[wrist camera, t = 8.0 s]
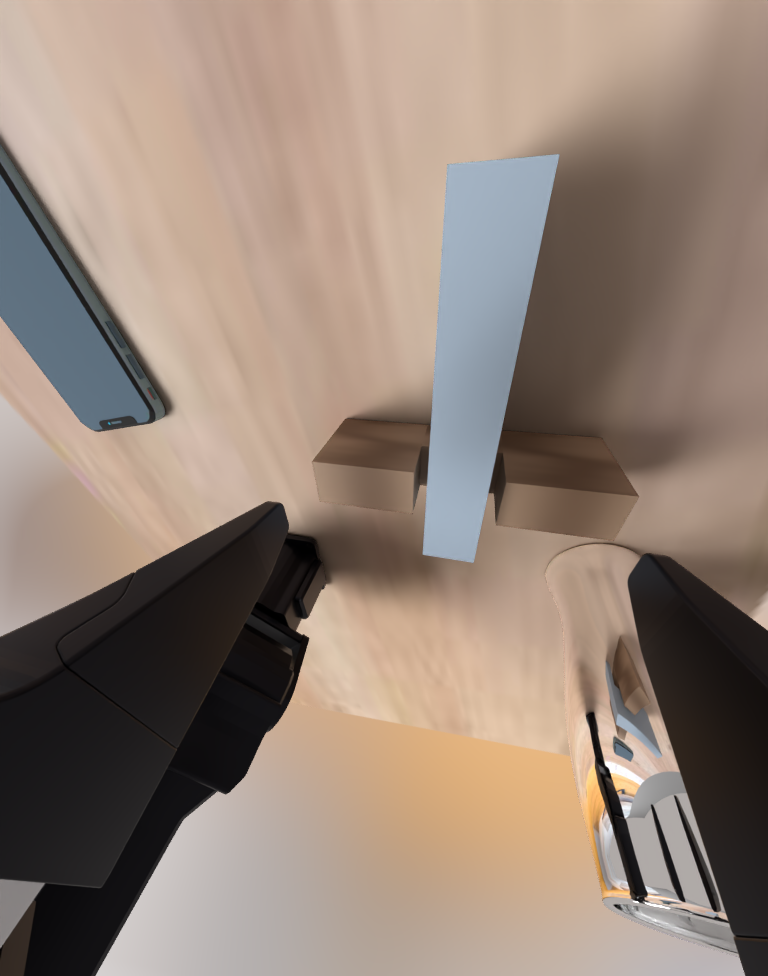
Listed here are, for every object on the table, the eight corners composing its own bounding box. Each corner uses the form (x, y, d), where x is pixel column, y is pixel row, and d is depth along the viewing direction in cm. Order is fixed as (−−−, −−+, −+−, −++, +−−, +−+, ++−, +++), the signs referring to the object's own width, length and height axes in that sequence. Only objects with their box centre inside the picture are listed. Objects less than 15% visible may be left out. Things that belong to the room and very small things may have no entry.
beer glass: (553, 530, 21) (647, 896, 9) (678, 546, 19) (982, 1007, 8) (528, 594, 25) (570, 901, 13) (629, 612, 23) (777, 974, 12)
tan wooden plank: (349, 454, 21) (319, 501, 17) (345, 418, 19) (312, 461, 15) (584, 477, 18) (613, 540, 14) (601, 437, 16) (639, 496, 13)
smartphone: (-44, 99, 14) (159, 422, 22) (2, 113, 15) (178, 413, 23) (-122, 164, 16) (86, 434, 24) (-76, 172, 17) (107, 425, 25)
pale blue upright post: (435, 485, 21) (422, 554, 16) (459, 195, 12) (447, 164, 8) (475, 490, 20) (473, 562, 16) (527, 190, 12) (559, 154, 7)
